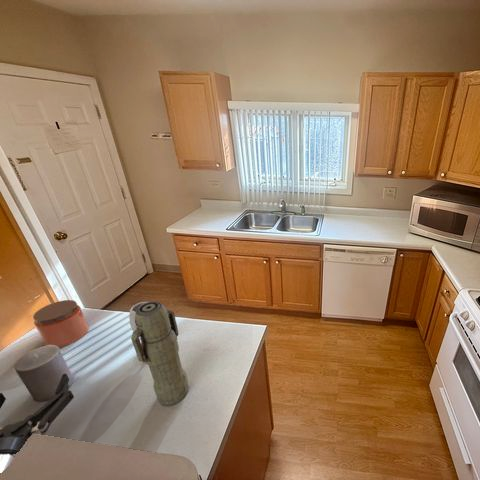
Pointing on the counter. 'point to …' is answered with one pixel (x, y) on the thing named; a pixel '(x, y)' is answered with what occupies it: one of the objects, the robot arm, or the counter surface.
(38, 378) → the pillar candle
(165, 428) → the counter surface
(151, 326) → the thermos
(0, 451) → the robot arm
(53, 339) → the jar
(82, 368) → the counter surface
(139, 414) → the counter surface
